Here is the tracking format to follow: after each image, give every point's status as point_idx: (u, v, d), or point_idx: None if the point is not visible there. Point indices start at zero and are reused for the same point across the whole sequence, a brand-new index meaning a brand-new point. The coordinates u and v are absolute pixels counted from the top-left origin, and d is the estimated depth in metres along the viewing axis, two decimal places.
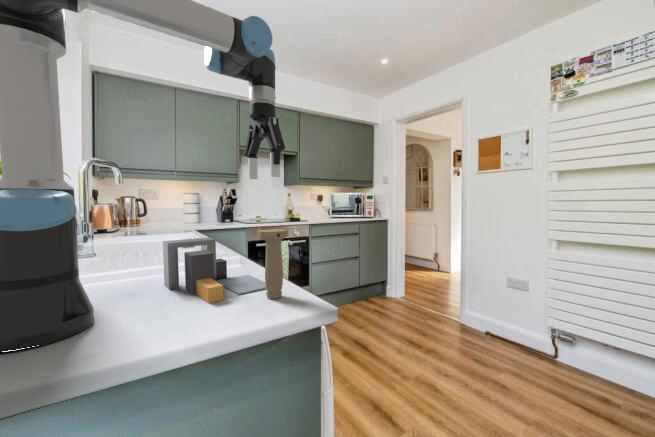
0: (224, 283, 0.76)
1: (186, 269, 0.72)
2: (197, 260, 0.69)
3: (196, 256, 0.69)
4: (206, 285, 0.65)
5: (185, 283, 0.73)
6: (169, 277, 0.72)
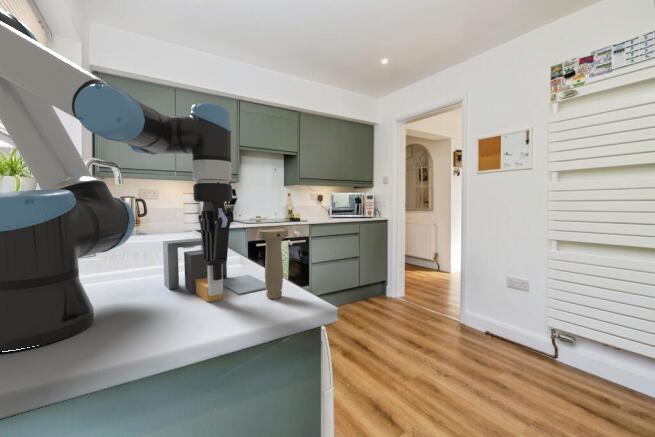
0: (224, 283, 0.76)
1: (186, 268, 0.72)
2: (196, 259, 0.70)
3: (195, 255, 0.69)
4: (205, 284, 0.65)
5: (185, 282, 0.73)
6: (169, 277, 0.72)
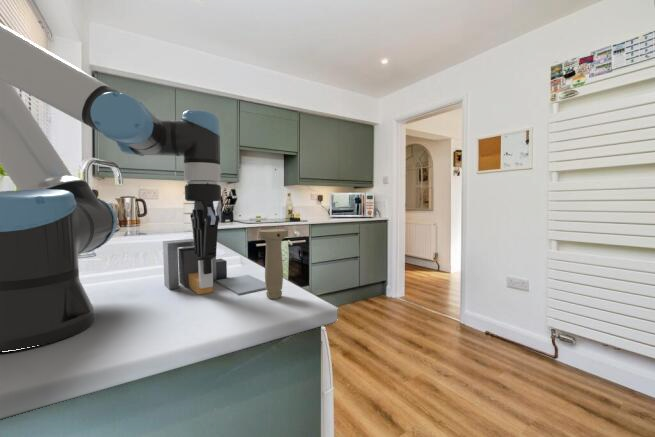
0: (224, 283, 0.76)
1: (180, 264, 0.77)
2: (189, 255, 0.75)
3: (188, 251, 0.74)
4: (196, 278, 0.70)
5: (179, 277, 0.78)
6: (169, 277, 0.72)
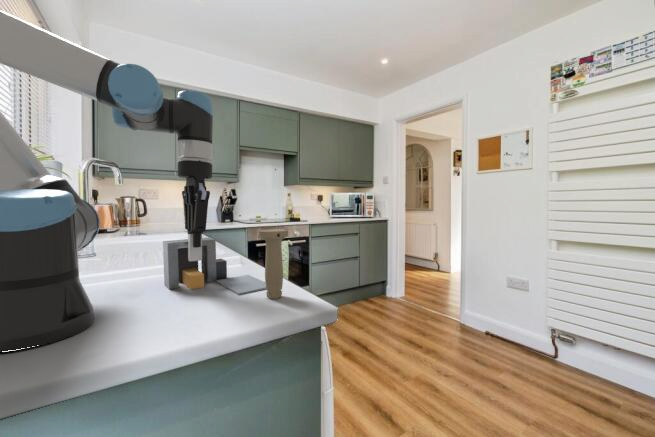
0: (224, 283, 0.76)
1: None
2: (183, 252, 0.79)
3: (182, 249, 0.79)
4: (189, 274, 0.74)
5: None
6: (169, 277, 0.72)
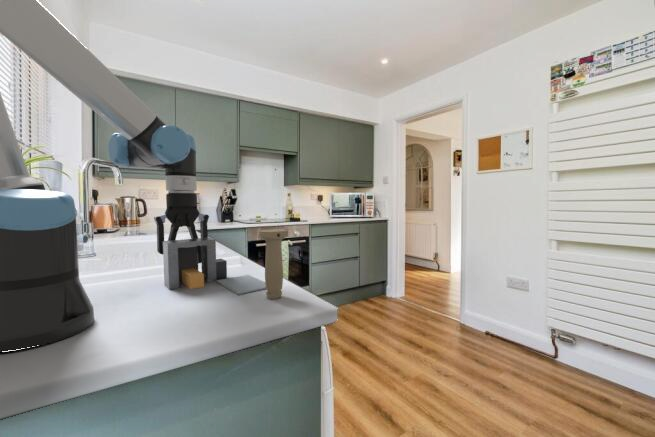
0: (224, 283, 0.76)
1: None
2: (182, 252, 0.79)
3: (181, 249, 0.78)
4: (189, 274, 0.74)
5: None
6: (169, 277, 0.72)
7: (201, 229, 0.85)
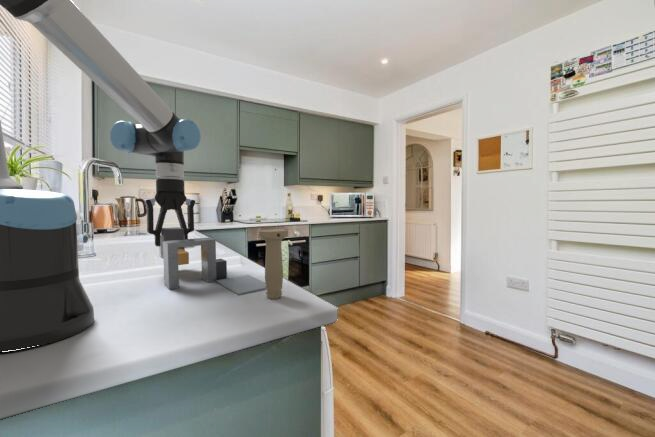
0: (224, 283, 0.76)
1: None
2: (170, 233, 0.87)
3: (169, 230, 0.87)
4: None
5: None
6: (169, 277, 0.72)
7: (188, 213, 0.94)
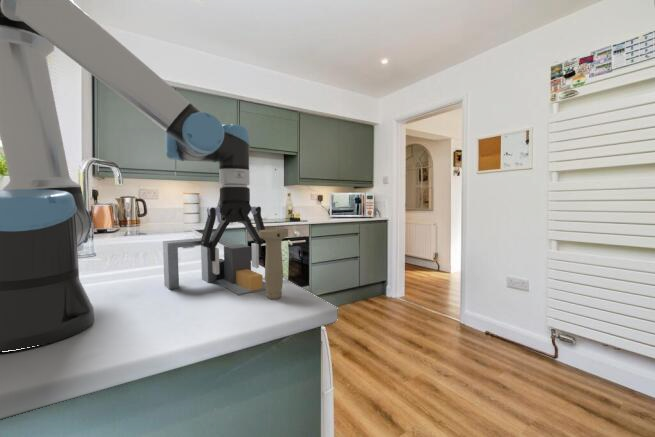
0: (224, 283, 0.76)
1: (226, 261, 0.79)
2: (237, 252, 0.76)
3: (236, 249, 0.76)
4: (247, 275, 0.72)
5: (224, 274, 0.80)
6: (169, 277, 0.72)
7: (256, 222, 0.83)
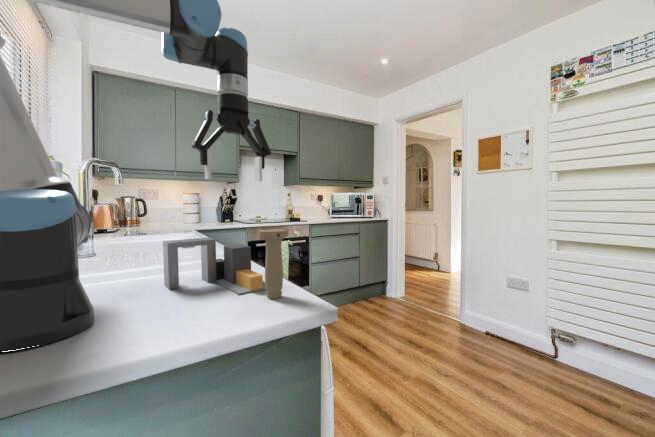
0: (224, 283, 0.76)
1: (226, 261, 0.79)
2: (237, 252, 0.76)
3: (236, 249, 0.76)
4: (247, 275, 0.72)
5: (224, 274, 0.80)
6: (169, 277, 0.72)
7: (257, 136, 0.82)
